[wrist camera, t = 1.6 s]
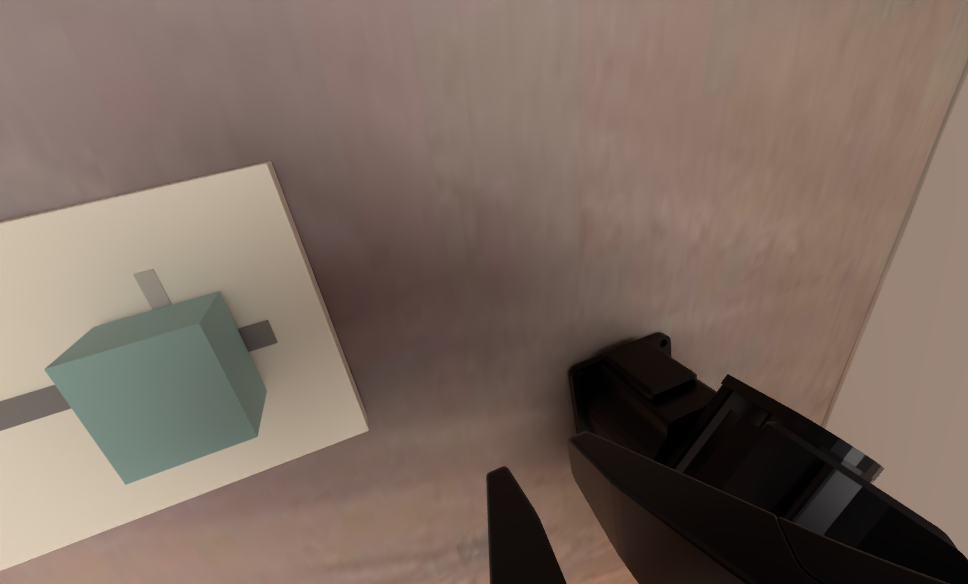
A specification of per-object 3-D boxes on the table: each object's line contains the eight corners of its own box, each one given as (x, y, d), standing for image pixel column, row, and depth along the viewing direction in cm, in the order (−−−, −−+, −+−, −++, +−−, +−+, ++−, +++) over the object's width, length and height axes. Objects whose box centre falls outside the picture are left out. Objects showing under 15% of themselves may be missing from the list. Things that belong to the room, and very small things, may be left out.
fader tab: (267, 390, 18) (257, 437, 15) (156, 428, 17) (125, 484, 14) (219, 291, 16) (199, 323, 13) (93, 327, 15) (44, 369, 12)
